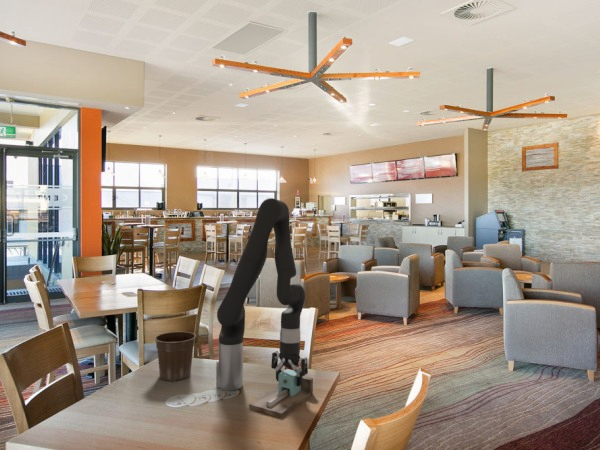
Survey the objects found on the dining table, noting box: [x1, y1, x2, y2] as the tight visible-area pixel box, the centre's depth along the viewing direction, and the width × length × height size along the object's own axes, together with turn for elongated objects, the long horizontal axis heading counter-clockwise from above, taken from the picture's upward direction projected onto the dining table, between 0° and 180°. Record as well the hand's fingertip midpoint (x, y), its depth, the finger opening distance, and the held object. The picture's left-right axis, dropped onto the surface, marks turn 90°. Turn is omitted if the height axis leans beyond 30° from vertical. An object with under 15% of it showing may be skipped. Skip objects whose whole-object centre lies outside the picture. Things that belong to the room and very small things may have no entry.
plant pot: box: [154, 331, 197, 382], centre depth 180 cm, size 16×16×16 cm
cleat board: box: [248, 375, 314, 419], centre depth 157 cm, size 13×22×6 cm, turn 151°
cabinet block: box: [278, 369, 301, 397], centre depth 162 cm, size 6×7×7 cm
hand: (288, 383), depth 161 cm, fingers open, 8 cm apart
